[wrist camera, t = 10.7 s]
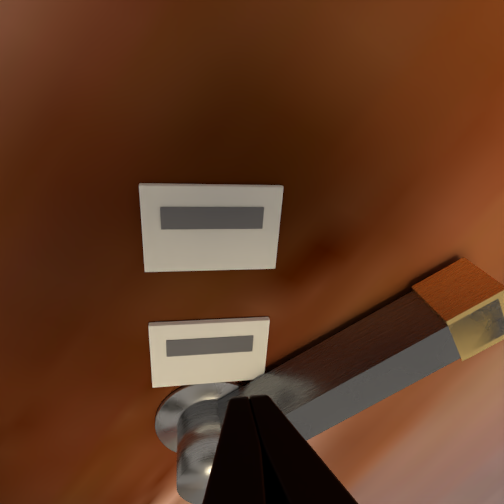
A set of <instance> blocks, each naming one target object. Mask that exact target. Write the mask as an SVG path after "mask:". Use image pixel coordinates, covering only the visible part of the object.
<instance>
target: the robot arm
mask: <svg viewBox="0 0 504 504" xmlns="http://www.w3.org/2000/svg"><path fill="white" fill-rule="evenodd" d="M202 504H358V503H357V502H356V500H355V499H354V498H353V497H352V496H351V494H350V493H349V492H348V491H347V489H346V488H345V487H344V486H343V485H342V483H341V482H340V481H339V480H338V479H337V477H336V476H335V475H334V474H333V473H332V471H331V470H330V469H329V468H328V467H327V465H326V464H325V463H324V462H323V461H322V459H321V458H320V457H319V456H318V455H317V453H316V452H315V451H314V450H313V449H312V447H311V446H310V445H309V444H308V443H307V441H306V440H305V439H304V438H303V437H302V435H301V434H300V433H299V432H298V430H297V429H296V428H295V427H294V426H293V424H292V423H291V422H290V421H289V420H288V418H287V417H286V416H285V415H284V414H283V412H282V411H281V410H280V409H279V408H278V406H277V405H276V404H275V403H274V402H273V400H272V399H271V398H270V397H269V396H268V395H266V394H261V395H251V396H250V397H249V398H248V397H247V396H237V397H231V398H230V399H229V402H228V405H227V409H226V413H225V417H224V421H223V425H222V429H221V432H220V436H219V440H218V444H217V448H216V452H215V456H214V460H213V464H212V467H211V471H210V475H209V479H208V483H207V487H206V491H205V495H204V499H203V502H202Z"/></svg>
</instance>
